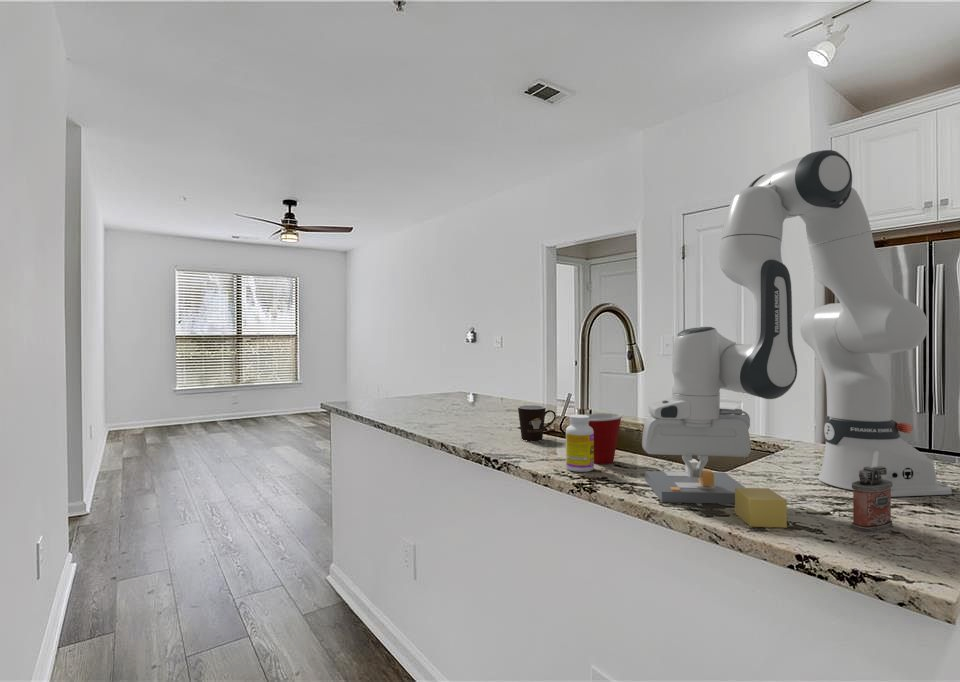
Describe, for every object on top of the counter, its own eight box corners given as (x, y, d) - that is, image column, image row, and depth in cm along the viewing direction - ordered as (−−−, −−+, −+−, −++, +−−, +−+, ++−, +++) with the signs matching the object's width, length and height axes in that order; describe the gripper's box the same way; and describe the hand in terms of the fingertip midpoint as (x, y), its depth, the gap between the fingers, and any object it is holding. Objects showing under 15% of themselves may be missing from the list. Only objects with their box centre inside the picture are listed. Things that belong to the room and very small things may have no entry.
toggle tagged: (708, 481, 105) (708, 469, 105) (713, 485, 102) (713, 473, 102) (698, 481, 105) (698, 468, 105) (703, 485, 102) (703, 472, 102)
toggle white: (694, 470, 113) (694, 459, 113) (699, 474, 110) (699, 462, 110) (685, 470, 113) (685, 458, 113) (689, 473, 110) (689, 462, 110)
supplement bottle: (594, 473, 121) (593, 418, 120) (565, 472, 122) (565, 417, 122) (593, 466, 127) (593, 414, 127) (566, 465, 128) (566, 413, 128)
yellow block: (768, 513, 93) (768, 488, 93) (786, 527, 86) (786, 500, 86) (734, 512, 93) (734, 487, 93) (750, 526, 87) (750, 499, 87)
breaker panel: (724, 481, 113) (724, 471, 113) (754, 504, 98) (754, 492, 98) (644, 480, 115) (644, 470, 115) (661, 502, 100) (661, 490, 100)
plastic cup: (584, 454, 139) (584, 410, 139) (626, 458, 134) (625, 412, 134) (574, 464, 129) (574, 416, 129) (618, 468, 125) (618, 419, 124)
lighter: (868, 534, 83) (868, 472, 83) (846, 527, 86) (846, 467, 86) (898, 527, 86) (898, 467, 86) (875, 520, 89) (875, 462, 89)
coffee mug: (516, 441, 156) (516, 408, 156) (519, 436, 165) (519, 405, 165) (555, 442, 155) (555, 409, 154) (556, 437, 163) (555, 405, 163)
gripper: (743, 406, 105) (743, 474, 105) (640, 405, 108) (640, 471, 108) (756, 411, 99) (756, 483, 99) (647, 409, 101) (646, 479, 101)
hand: (694, 477), depth 103 cm, fingers closed
